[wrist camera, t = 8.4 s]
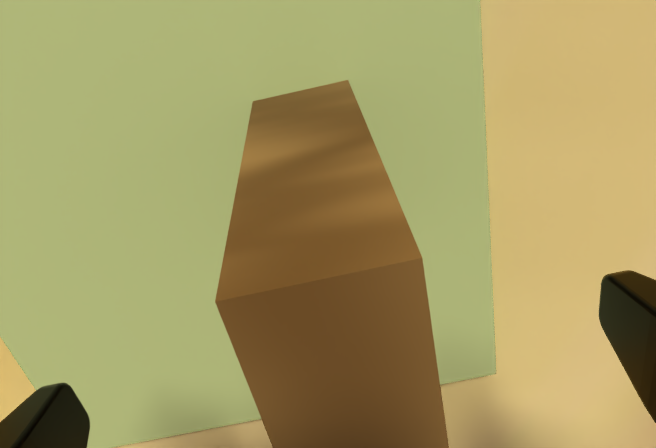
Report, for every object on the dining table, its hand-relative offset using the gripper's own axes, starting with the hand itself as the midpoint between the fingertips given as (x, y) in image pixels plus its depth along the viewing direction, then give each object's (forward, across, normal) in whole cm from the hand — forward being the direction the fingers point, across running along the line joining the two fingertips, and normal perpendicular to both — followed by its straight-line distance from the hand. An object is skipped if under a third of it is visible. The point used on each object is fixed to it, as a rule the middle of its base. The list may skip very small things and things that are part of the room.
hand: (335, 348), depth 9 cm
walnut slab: (+6, 0, 0) cm, 6 cm away
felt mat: (+7, +3, 0) cm, 8 cm away
